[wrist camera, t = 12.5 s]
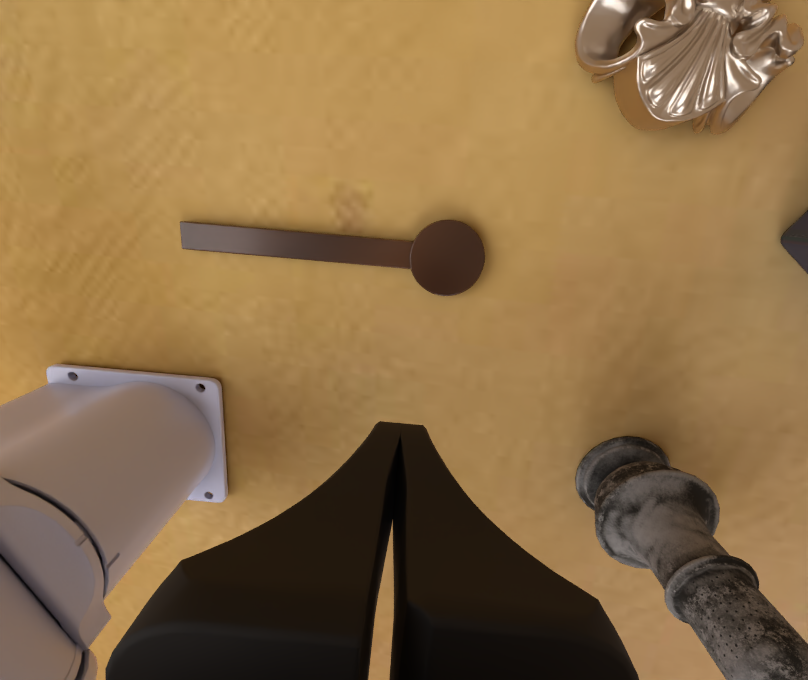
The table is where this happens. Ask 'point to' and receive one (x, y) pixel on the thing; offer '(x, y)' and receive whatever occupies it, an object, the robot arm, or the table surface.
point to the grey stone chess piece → (687, 558)
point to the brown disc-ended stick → (358, 250)
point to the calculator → (798, 241)
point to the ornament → (686, 57)
